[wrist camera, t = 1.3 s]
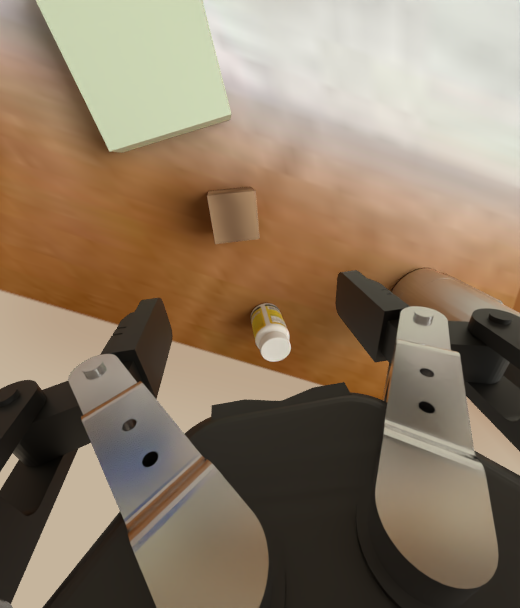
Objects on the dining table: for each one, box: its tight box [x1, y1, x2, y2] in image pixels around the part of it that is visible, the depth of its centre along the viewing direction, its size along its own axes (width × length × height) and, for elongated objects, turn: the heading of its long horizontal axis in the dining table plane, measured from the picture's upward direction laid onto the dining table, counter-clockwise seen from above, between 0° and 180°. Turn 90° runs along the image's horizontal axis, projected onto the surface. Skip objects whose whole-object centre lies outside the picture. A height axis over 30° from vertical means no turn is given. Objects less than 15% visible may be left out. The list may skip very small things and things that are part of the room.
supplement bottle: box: [251, 303, 291, 362], centre depth 36 cm, size 5×5×8 cm
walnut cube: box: [207, 187, 260, 244], centre depth 29 cm, size 5×5×5 cm
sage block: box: [36, 0, 231, 153], centre depth 22 cm, size 12×12×4 cm
